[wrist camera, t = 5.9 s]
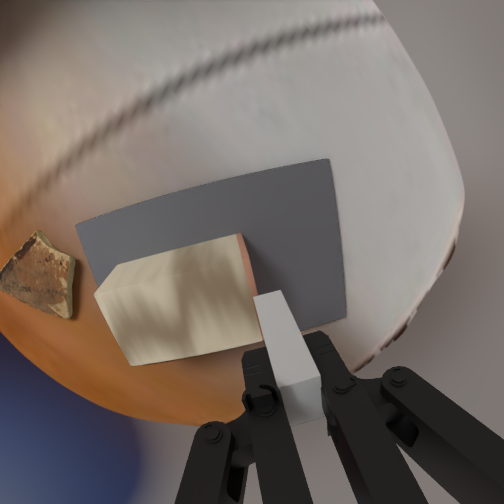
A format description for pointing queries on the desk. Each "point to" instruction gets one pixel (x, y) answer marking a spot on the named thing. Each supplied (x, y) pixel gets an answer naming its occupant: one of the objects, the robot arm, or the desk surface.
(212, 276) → the birch block
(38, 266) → the shard
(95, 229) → the rubber mat
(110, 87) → the desk surface
